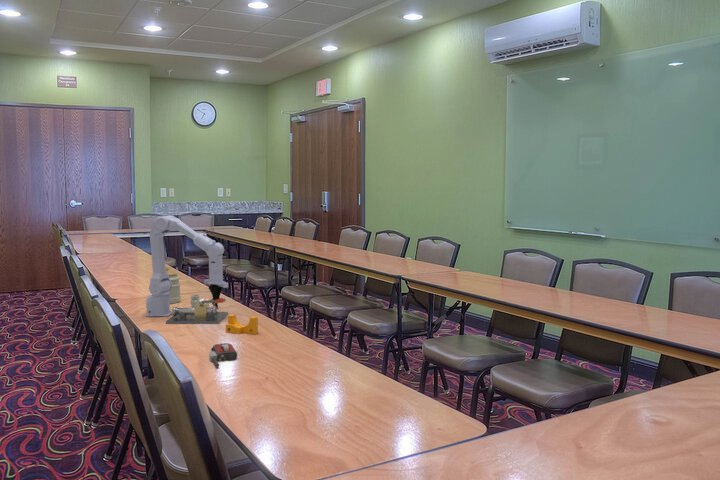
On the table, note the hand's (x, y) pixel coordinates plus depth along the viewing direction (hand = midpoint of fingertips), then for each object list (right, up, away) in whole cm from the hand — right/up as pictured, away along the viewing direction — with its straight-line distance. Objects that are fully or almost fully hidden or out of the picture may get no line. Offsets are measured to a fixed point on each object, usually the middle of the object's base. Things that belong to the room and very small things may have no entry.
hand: (216, 302), depth 257 cm
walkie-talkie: (+17, -13, -59) cm, 63 cm away
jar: (-32, -4, +33) cm, 46 cm away
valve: (-10, -5, +17) cm, 21 cm away
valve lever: (-1, -1, -2) cm, 3 cm away
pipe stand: (-7, -7, -3) cm, 10 cm away
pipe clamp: (+16, -10, -25) cm, 32 cm away
